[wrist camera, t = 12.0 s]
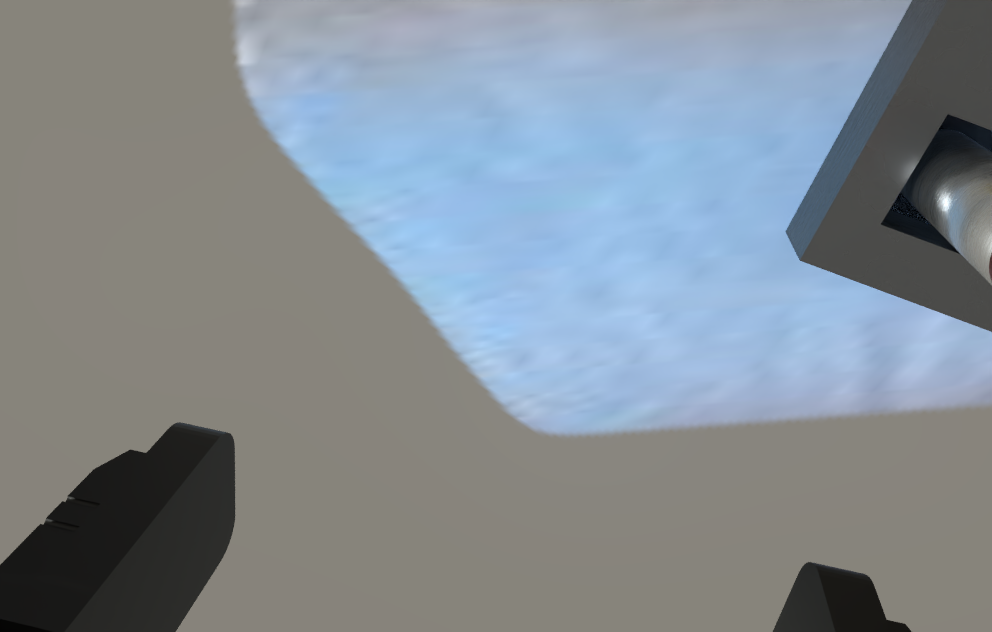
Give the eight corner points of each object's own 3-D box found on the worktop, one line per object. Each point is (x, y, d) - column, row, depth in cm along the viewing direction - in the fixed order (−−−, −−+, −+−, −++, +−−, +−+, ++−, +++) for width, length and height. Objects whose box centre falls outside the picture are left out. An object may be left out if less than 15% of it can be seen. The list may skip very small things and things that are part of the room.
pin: (921, 117, 34) (1054, 207, 23) (996, 145, 34) (1161, 247, 23) (879, 189, 35) (984, 304, 25) (950, 215, 36) (1085, 342, 25)
